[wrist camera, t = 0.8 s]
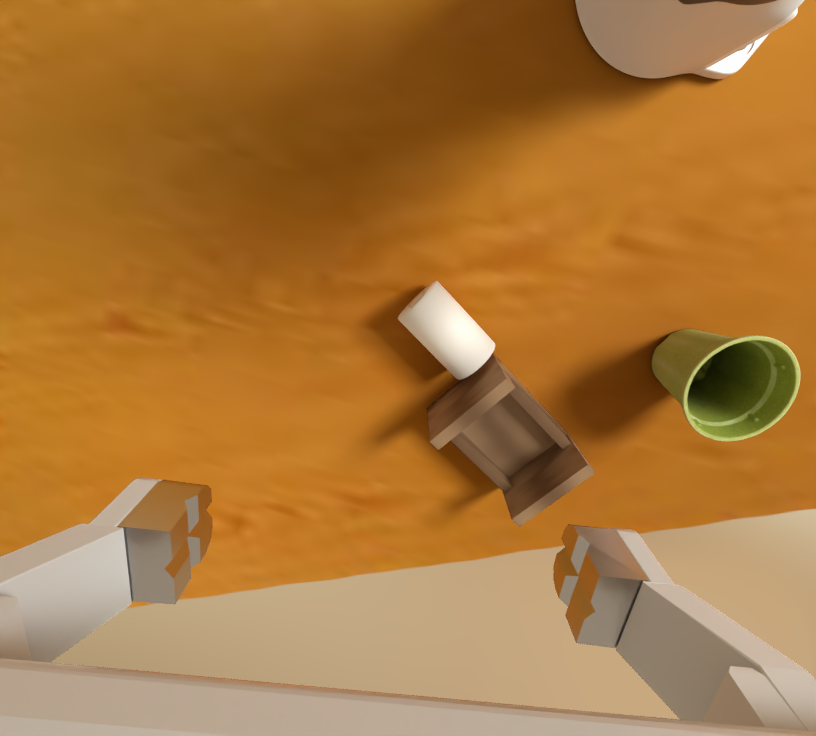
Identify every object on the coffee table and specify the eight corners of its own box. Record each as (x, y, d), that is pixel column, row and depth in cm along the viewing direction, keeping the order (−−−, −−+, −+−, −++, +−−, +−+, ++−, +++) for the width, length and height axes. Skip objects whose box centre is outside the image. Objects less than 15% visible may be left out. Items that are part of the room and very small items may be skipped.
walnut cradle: (492, 352, 45) (506, 378, 38) (570, 436, 48) (595, 472, 41) (427, 408, 47) (429, 441, 40) (505, 484, 50) (519, 526, 43)
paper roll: (397, 310, 43) (395, 324, 39) (434, 275, 42) (437, 284, 37) (454, 369, 45) (458, 388, 41) (491, 337, 44) (500, 352, 40)
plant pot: (735, 305, 43) (810, 329, 35) (724, 394, 46) (791, 435, 38) (636, 318, 43) (688, 344, 35) (632, 405, 47) (679, 447, 38)
